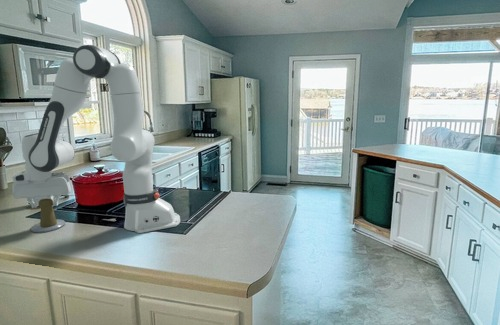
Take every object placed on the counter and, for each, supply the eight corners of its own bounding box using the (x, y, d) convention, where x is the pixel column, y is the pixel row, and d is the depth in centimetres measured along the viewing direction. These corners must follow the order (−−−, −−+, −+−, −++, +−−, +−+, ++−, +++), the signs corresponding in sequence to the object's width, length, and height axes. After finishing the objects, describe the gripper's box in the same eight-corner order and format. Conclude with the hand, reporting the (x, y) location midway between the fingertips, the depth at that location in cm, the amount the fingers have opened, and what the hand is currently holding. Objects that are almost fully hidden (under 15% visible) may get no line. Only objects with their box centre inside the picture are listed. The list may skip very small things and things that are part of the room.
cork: (48, 227, 130) (45, 201, 129) (36, 226, 132) (33, 200, 130) (60, 222, 136) (57, 197, 134) (48, 221, 138) (45, 196, 136)
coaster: (68, 219, 141) (68, 218, 141) (59, 230, 130) (59, 228, 130) (38, 223, 139) (37, 221, 138) (26, 234, 127) (25, 232, 127)
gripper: (70, 169, 135) (75, 201, 138) (15, 174, 130) (21, 206, 133) (65, 173, 129) (70, 206, 132) (7, 177, 124) (13, 211, 127)
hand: (45, 206), depth 132 cm, fingers open, 6 cm apart
